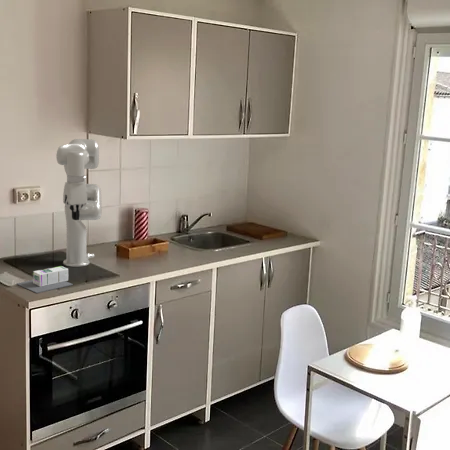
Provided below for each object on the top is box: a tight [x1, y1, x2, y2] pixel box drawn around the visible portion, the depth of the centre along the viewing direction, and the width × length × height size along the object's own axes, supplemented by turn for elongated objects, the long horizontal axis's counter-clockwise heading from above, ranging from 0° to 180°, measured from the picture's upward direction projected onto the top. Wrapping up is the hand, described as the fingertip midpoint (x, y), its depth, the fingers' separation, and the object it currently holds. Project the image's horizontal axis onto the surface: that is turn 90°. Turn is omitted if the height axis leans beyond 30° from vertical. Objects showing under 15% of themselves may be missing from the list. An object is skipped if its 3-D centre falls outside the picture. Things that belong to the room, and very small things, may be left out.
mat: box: [16, 279, 74, 294], centre depth 273 cm, size 18×16×1 cm
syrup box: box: [32, 265, 69, 287], centre depth 274 cm, size 6×6×14 cm
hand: (75, 219), depth 279 cm, fingers closed
